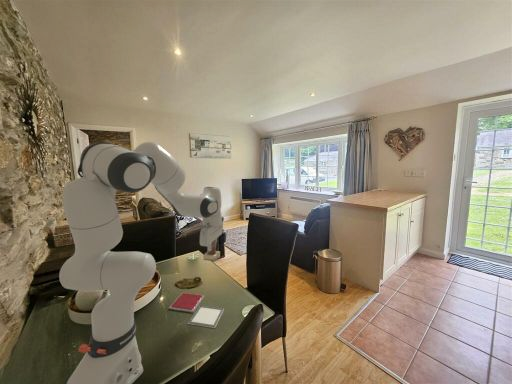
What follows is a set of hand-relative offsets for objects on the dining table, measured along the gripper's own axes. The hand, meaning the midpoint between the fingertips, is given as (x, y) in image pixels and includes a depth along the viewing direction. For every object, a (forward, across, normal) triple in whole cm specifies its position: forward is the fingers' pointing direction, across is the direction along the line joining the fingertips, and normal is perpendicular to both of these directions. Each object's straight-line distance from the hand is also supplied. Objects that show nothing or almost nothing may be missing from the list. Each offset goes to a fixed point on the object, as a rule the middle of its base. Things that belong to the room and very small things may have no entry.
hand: (211, 248), depth 103 cm
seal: (+27, +12, +19) cm, 35 cm away
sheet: (+27, -11, -2) cm, 29 cm away
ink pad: (+27, -4, +11) cm, 29 cm away
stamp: (+5, 0, 0) cm, 5 cm away
